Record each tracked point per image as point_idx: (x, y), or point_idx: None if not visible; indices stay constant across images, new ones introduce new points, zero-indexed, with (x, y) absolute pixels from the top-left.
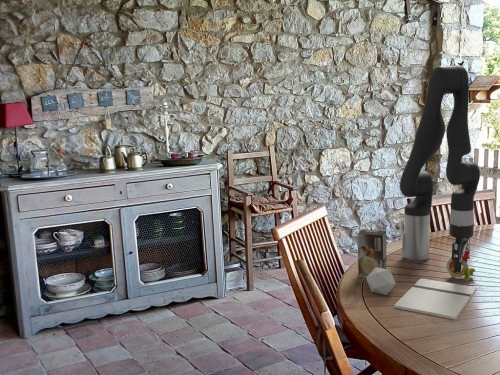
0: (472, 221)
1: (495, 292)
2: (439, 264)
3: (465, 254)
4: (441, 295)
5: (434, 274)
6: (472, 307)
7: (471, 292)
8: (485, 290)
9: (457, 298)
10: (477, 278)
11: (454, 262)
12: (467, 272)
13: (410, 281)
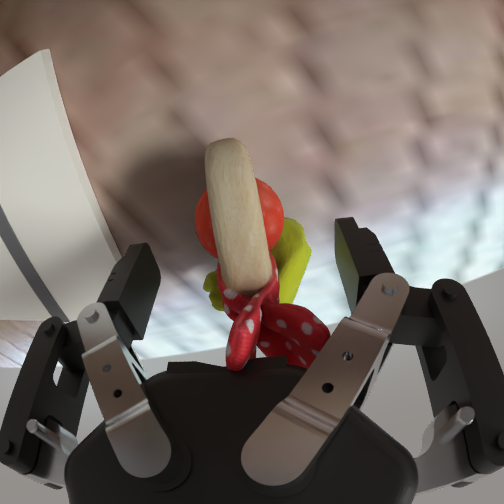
0: None
1: (178, 354)
2: (447, 8)
3: None
4: None
5: (214, 34)
6: (29, 328)
7: None
8: (169, 331)
9: (13, 296)
10: None
11: (107, 299)
12: (210, 292)
13: (13, 25)
